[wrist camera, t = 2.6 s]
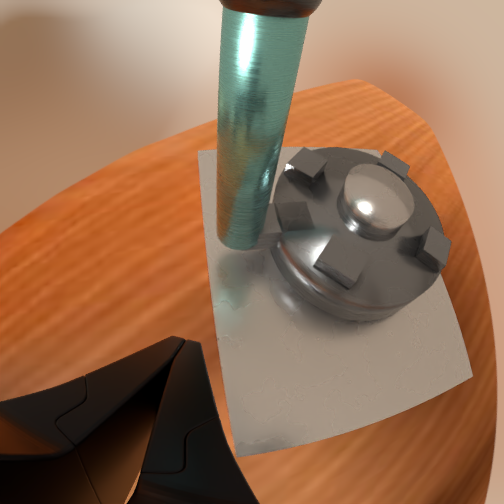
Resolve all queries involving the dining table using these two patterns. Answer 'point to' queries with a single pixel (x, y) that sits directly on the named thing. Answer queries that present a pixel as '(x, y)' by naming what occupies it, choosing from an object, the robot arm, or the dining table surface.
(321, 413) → the base plate
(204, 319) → the dining table surface
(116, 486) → the robot arm
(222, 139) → the joystick
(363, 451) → the dining table surface
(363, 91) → the dining table surface
